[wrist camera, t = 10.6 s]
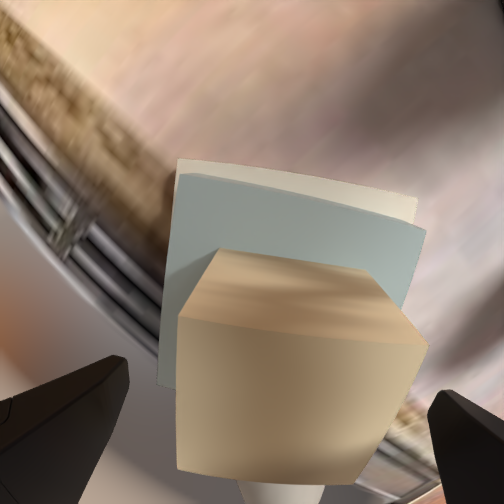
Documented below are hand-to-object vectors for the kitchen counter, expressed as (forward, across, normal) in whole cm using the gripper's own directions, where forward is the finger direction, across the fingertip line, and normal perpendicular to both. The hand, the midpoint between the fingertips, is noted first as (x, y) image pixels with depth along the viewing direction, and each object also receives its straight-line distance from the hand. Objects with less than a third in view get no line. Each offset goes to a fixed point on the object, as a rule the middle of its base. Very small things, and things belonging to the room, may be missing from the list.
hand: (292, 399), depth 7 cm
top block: (+7, 0, 0) cm, 7 cm away
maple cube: (+5, 0, 0) cm, 5 cm away
